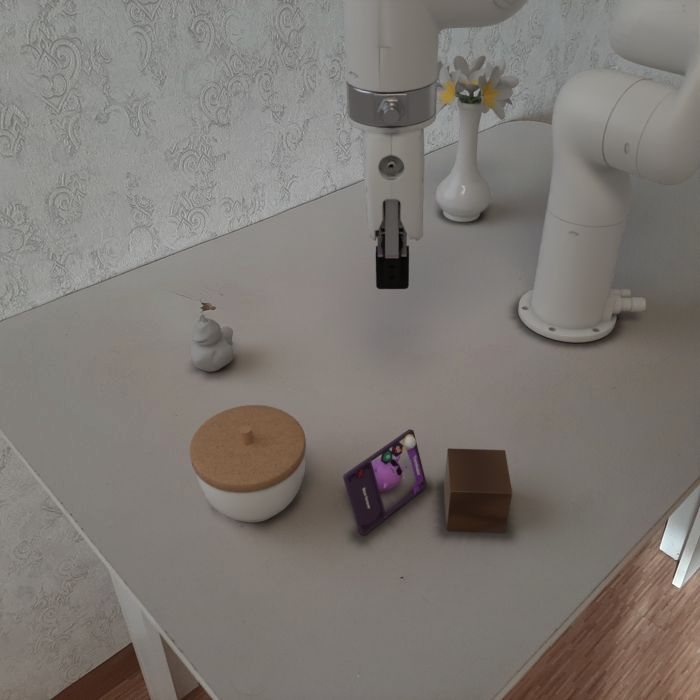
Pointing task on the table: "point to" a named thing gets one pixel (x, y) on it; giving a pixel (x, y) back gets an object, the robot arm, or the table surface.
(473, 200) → the flower vase
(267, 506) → the trinket box
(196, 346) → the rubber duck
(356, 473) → the game card
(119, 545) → the table surface
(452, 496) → the walnut block
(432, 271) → the table surface
